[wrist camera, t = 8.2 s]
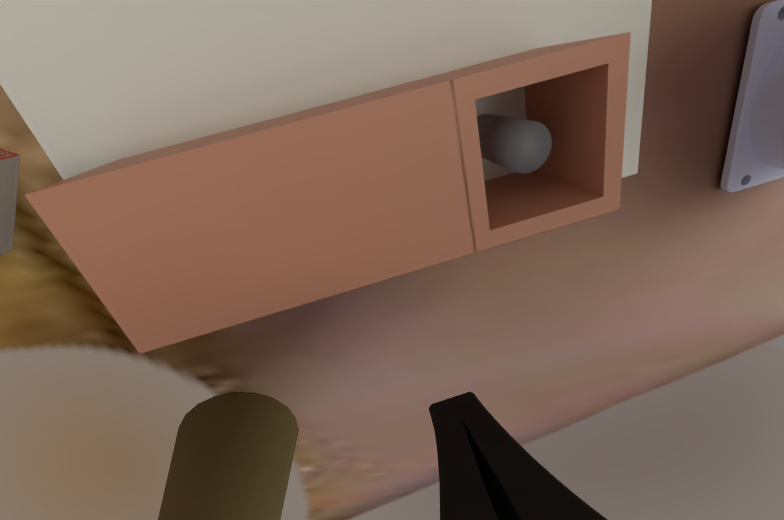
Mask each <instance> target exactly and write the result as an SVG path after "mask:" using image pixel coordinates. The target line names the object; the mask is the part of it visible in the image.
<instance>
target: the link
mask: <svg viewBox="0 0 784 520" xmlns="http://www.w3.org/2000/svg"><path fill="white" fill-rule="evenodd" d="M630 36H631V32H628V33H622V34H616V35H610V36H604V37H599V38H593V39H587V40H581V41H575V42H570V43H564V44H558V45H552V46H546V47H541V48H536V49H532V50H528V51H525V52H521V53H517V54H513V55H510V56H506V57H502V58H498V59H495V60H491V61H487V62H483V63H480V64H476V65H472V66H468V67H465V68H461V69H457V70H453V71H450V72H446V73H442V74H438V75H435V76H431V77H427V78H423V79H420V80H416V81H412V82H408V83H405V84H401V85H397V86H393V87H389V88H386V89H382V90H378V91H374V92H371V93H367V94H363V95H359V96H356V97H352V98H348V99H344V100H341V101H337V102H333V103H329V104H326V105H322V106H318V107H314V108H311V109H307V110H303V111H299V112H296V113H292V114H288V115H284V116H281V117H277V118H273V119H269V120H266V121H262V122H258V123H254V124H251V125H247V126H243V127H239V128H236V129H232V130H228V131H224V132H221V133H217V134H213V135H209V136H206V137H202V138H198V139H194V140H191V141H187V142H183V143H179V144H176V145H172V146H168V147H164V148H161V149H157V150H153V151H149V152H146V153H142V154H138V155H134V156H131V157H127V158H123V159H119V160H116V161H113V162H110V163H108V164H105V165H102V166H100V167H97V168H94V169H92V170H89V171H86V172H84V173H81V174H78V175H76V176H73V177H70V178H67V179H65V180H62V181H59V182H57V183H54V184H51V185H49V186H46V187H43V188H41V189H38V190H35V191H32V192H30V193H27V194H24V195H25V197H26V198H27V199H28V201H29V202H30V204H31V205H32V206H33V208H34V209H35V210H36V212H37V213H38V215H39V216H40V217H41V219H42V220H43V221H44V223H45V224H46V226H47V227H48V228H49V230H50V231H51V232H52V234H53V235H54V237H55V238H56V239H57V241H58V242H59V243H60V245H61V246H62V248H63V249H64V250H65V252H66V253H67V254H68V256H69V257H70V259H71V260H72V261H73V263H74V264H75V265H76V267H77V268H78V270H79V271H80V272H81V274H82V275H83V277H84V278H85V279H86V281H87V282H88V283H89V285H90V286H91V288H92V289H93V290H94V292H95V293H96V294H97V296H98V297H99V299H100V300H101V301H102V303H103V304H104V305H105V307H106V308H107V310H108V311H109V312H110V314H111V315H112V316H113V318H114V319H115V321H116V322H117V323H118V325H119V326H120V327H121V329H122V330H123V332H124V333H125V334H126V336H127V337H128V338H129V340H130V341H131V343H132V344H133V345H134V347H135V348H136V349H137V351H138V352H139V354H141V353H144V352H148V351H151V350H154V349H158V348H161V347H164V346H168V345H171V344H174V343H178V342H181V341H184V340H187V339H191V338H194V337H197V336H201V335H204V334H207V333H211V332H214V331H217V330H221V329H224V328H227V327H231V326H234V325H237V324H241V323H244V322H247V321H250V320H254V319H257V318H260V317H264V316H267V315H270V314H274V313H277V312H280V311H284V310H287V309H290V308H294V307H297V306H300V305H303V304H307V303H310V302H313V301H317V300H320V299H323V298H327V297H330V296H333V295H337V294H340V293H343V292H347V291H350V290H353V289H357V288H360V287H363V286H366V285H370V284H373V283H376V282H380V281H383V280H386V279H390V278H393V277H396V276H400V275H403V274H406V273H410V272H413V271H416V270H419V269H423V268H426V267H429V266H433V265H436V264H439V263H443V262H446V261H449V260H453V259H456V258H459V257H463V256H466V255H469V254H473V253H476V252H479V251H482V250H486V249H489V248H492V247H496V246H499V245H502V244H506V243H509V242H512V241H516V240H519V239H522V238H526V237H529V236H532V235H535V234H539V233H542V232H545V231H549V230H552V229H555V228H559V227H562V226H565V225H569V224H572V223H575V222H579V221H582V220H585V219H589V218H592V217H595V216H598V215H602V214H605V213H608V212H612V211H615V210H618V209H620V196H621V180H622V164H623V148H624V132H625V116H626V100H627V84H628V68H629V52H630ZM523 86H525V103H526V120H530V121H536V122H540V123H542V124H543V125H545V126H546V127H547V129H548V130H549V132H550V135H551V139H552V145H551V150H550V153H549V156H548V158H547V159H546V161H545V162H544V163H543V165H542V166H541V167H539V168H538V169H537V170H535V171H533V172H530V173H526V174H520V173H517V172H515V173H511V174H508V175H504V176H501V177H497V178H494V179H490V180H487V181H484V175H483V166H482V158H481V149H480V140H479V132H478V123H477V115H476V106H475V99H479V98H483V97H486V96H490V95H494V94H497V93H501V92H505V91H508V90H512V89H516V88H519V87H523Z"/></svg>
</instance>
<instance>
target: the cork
mask: <svg viewBox="0 0 784 520" xmlns="http://www.w3.org/2000/svg"><path fill="white" fill-rule="evenodd" d="M298 430H299V429H298V425H297V421H296V418H295V416H294V415H293V414H292V413H291V411H290V410H289V409H288V408H287V407H286V406H285V405H283V404H281V403H280V402H278V401H277V400H275V399H273V398H270V397H267V396H263V395H260V394H256V393H238V392H234V393H229V394H224V395H218V396H214V397H212V398H210V399H208V400H206V401H203V402H201V403H199V404H198V405H196V406H195V407H194V408H193V409H192V410H191V411H190V412H188V413H187V414H186V415H185V417H184V419H183V421H182V423H181V425H180V426H179V429H178V433H177V438H176V443H175V447H174V451H173V456H172V460H171V465H170V469H169V473H168V478H167V482H166V487H165V491H164V496H163V500H162V505H161V509H160V513H159V518H158V520H280V518H281V514H282V509H283V504H284V499H285V494H286V489H287V485H288V480H289V475H290V470H291V465H292V460H293V455H294V451H295V446H296V441H297V436H298Z"/></svg>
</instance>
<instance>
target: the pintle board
mask: <svg viewBox="0 0 784 520" xmlns="http://www.w3.org/2000/svg"><path fill="white" fill-rule="evenodd" d="M651 7H652V0H0V85H1V86H2V88H3V89H4V91H5V92H6V94H7V95H8V97H9V98H10V100H11V101H12V103H13V104H14V106H15V107H16V109H17V111H18V112H19V114H20V115H21V117H22V118H23V120H24V121H25V123H26V124H27V126H28V127H29V129H30V130H31V132H32V133H33V135H34V136H35V138H36V139H37V141H38V142H39V144H40V145H41V147H42V148H43V150H44V151H45V153H46V154H47V156H48V158H49V159H50V161H51V162H52V164H53V165H54V167H55V168H56V170H57V171H58V173H59V174H60V176H61V177H62V179H63V180H65V179H67V178H70V177H73V176H76V175H78V174H81V173H84V172H86V171H89V170H92V169H94V168H97V167H100V166H102V165H105V164H108V163H110V162H113V161H116V160H119V159H123V158H127V157H131V156H134V155H138V154H142V153H146V152H149V151H153V150H157V149H161V148H164V147H168V146H172V145H176V144H179V143H183V142H187V141H191V140H194V139H198V138H202V137H206V136H209V135H213V134H217V133H221V132H224V131H228V130H232V129H236V128H239V127H243V126H247V125H251V124H254V123H258V122H262V121H266V120H269V119H273V118H277V117H281V116H284V115H288V114H292V113H296V112H299V111H303V110H307V109H311V108H314V107H318V106H322V105H326V104H329V103H333V102H337V101H341V100H344V99H348V98H352V97H356V96H359V95H363V94H367V93H371V92H374V91H378V90H382V89H386V88H389V87H393V86H397V85H401V84H405V83H408V82H412V81H416V80H420V79H423V78H427V77H431V76H435V75H438V74H442V73H446V72H450V71H453V70H457V69H461V68H465V67H468V66H472V65H476V64H480V63H483V62H487V61H491V60H495V59H498V58H502V57H506V56H510V55H513V54H517V53H521V52H525V51H528V50H532V49H536V48H541V47H546V46H552V45H558V44H564V43H570V42H575V41H581V40H587V39H593V38H599V37H604V36H610V35H616V34H622V33H628V32H631V36H630V52H629V68H628V84H627V100H626V116H625V132H624V148H623V164H622V178H624V177H627V176H630V175H634V174H637V173H638V162H639V150H640V138H641V126H642V114H643V102H644V90H645V78H646V66H647V54H648V43H649V31H650V19H651ZM475 106H476V115H477V123H478V132H479V140H480V149H481V158H482V166H483V175H484V181H487V180H490V179H494V178H497V177H501V176H504V175H508V174H511V173H515V172H517V173H520V174H526V173H530V172H533V171H535V170H537V169H538V168H539V167H541V166H542V165H543V163H544V162H545V161H546V159H547V158H548V156H549V153H550V150H551V145H552V139H551V135H550V132H549V130H548V129H547V127H546V126H545V125H543V124H542V123H540V122H536V121H530V120H526V103H525V86H523V87H519V88H516V89H512V90H508V91H505V92H501V93H497V94H494V95H490V96H486V97H483V98H479V99H475Z"/></svg>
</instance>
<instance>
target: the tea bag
mask: <svg viewBox="0 0 784 520" xmlns="http://www.w3.org/2000/svg"><path fill="white" fill-rule="evenodd" d="M19 163H20V155H18V154H15V153H11V152H8V151H5V150H2V149H0V255H2V254H4V253H6V252H7V251H9V250H11V249H13V238H14V225H15V213H16V200H17V188H18V175H19Z"/></svg>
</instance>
